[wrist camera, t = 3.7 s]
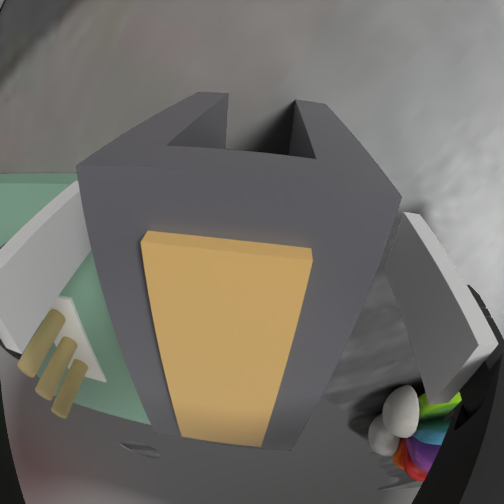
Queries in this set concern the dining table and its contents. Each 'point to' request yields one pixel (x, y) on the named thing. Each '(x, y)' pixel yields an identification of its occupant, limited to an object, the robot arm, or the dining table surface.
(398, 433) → the rainbow wheeled toy
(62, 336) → the header board
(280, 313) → the plug housing
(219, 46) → the dining table surface
